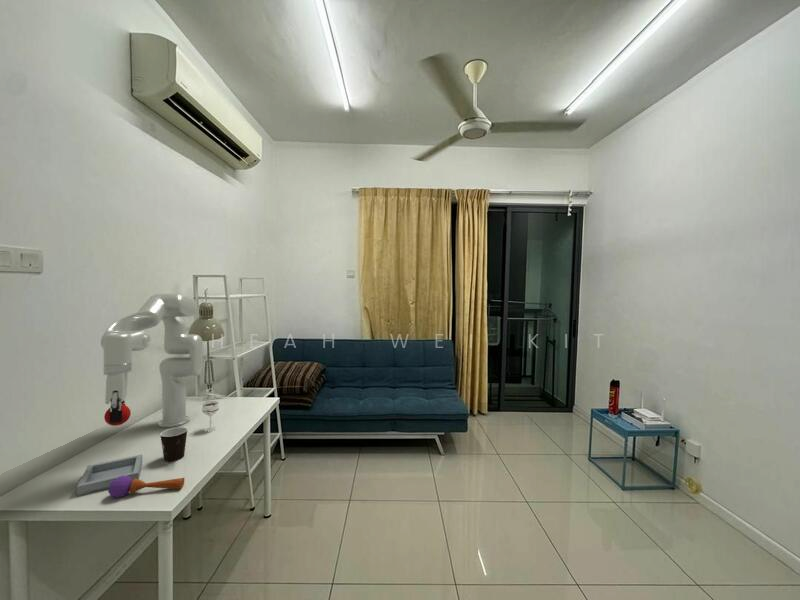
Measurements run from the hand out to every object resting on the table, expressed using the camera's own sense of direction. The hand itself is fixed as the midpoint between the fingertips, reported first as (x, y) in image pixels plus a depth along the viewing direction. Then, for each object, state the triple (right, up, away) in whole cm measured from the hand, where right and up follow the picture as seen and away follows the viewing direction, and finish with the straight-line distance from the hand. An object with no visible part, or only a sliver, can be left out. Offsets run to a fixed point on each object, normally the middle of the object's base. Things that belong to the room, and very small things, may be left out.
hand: (117, 418), depth 118 cm
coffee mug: (+14, -19, +9) cm, 25 cm away
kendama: (+19, -20, -12) cm, 30 cm away
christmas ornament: (0, -2, 0) cm, 2 cm away
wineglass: (+12, -18, +37) cm, 43 cm away
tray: (+2, -19, -4) cm, 19 cm away
